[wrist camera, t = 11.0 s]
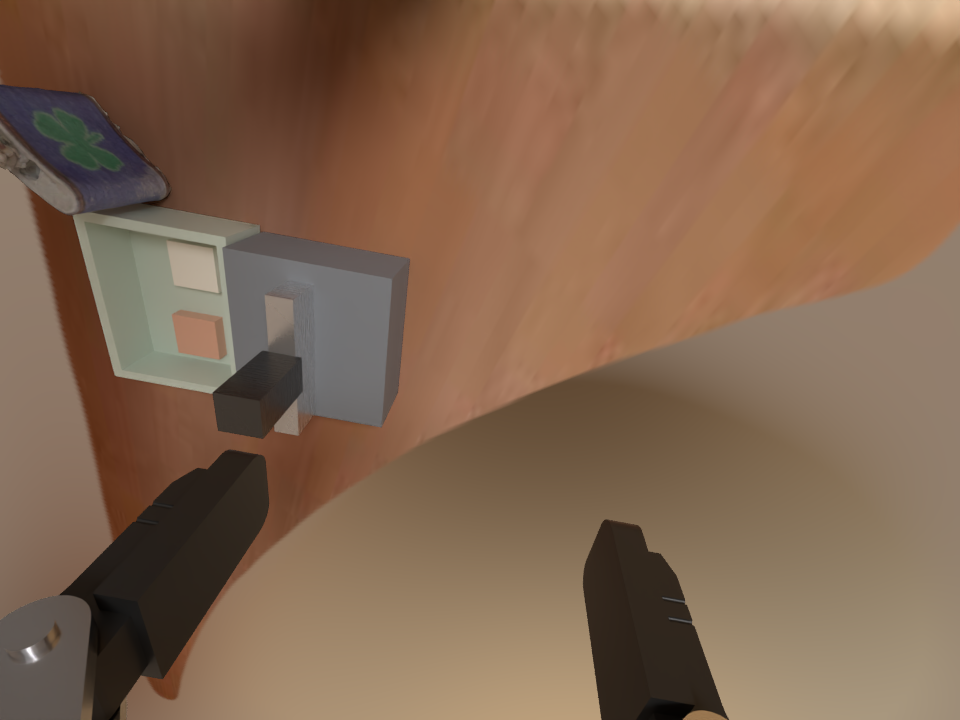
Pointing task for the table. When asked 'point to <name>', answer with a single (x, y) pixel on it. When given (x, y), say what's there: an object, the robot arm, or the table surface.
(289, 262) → the grey slotted block
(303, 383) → the scraper
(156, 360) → the box
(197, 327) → the tile terracotta
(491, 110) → the table surface
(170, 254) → the tile cream
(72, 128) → the flask
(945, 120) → the table surface
